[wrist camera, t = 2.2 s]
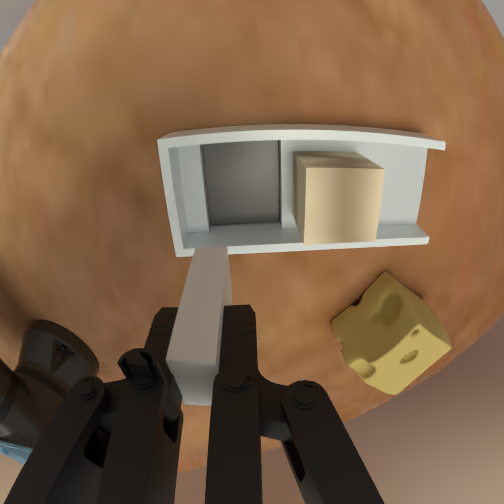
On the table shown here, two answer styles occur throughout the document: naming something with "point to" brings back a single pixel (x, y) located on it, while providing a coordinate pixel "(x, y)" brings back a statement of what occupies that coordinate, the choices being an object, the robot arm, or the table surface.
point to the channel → (267, 184)
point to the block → (336, 196)
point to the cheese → (390, 335)
